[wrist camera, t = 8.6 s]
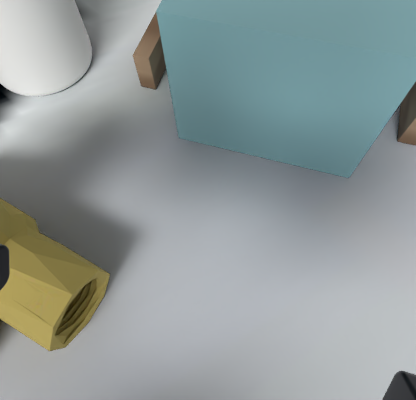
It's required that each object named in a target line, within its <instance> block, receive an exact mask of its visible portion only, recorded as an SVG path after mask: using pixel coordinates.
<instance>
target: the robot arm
mask: <svg viewBox="0 0 416 400" xmlns="http://www.w3.org/2000/svg"><path fill="white" fill-rule="evenodd" d="M9 275H10V266H9V249H8V247H7V246H5V245H3V244H0V290H1V289H2V288H3V287H4V286H5V285H6V283H7V281H8V279H9ZM383 400H416V375H414V374H411V373H408V372H405V371H399V372H397V373H396V374H395V376H394V378H393V380H392V382H391V384H390V386H389V388H388V389H387V391H386V393H385V395H384V397H383Z"/></svg>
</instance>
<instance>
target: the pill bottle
mask: <svg viewBox="0 0 416 400" xmlns="http://www.w3.org/2000/svg"><path fill="white" fill-rule="evenodd" d="M91 59H92V47H91V43H90V39H89V36H88V33H87V31H86V28H85V26H84V23H83V20H82V18H81V15H80V13H79V10H78V8H77V5H76V2H75V0H0V83H1V84H2V85H3V86H4V87H5V88H7V89H8V90H10V91H12V92H14V93H17V94H20V95H25V96H44V95H49V94H53V93H56V92H59V91H62V90H64V89H66V88H68V87H70V86H71V85H73V84H74V83H75V82H77V81H78V80H79V79H80V78H81V77H82V76H83V75H84V74H85V72H86V71H87V69H88V68H89V66H90V63H91Z"/></svg>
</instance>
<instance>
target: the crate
mask: <svg viewBox="0 0 416 400" xmlns="http://www.w3.org/2000/svg"><path fill="white" fill-rule="evenodd" d="M156 14H157V19H158V25H159V30H160V36H161V42H162V47H163V53H164V58H165V64H166V70H167V75H168V81H169V86H170V92H171V97H172V103H173V109H174V114H175V120H176V125H177V131H178V137H179V138H181V139H185V140H189V141H194V142H198V143H202V144H206V145H211V146H215V147H219V148H223V149H228V150H232V151H236V152H240V153H244V154H249V155H253V156H257V157H261V158H266V159H270V160H274V161H278V162H283V163H287V164H291V165H295V166H300V167H304V168H308V169H312V170H317V171H321V172H325V173H329V174H334V175H338V176H342V177H346V178H349V177H350V176H351V174H352V173H353V171H354V170H355V169H356V167H357V166H358V164H359V163H360V161H361V160H362V158H363V157H364V155H365V154H366V153H367V151H368V150H369V148H370V147H371V145H372V144H373V142H374V141H375V140H376V138H377V137H378V135H379V134H380V132H381V131H382V129H383V128H384V127H385V125H386V124H387V122H388V121H389V119H390V118H391V116H392V115H393V114H394V112H395V111H396V109H397V108H398V106H399V105H400V103H401V102H402V101H403V99H404V98H405V96H406V95H407V93H408V92H409V90H410V89H411V88H412V86H413V85H414V83H415V82H416V0H162V1H161V3H160V5H159V7H158V9H157V11H156Z"/></svg>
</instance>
